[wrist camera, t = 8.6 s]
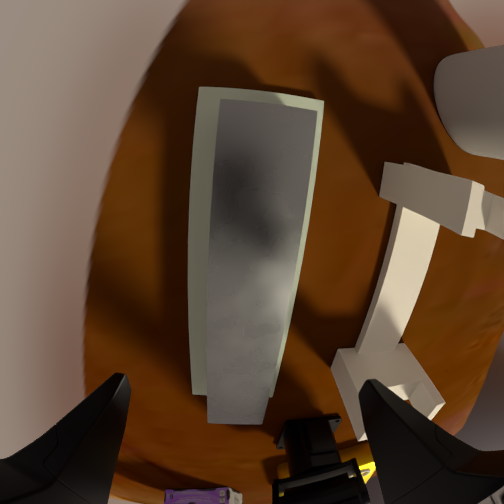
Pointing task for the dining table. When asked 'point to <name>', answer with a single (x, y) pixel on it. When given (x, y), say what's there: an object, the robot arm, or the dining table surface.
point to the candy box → (203, 496)
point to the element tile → (357, 451)
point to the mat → (202, 209)
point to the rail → (253, 249)
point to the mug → (473, 100)
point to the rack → (409, 282)
